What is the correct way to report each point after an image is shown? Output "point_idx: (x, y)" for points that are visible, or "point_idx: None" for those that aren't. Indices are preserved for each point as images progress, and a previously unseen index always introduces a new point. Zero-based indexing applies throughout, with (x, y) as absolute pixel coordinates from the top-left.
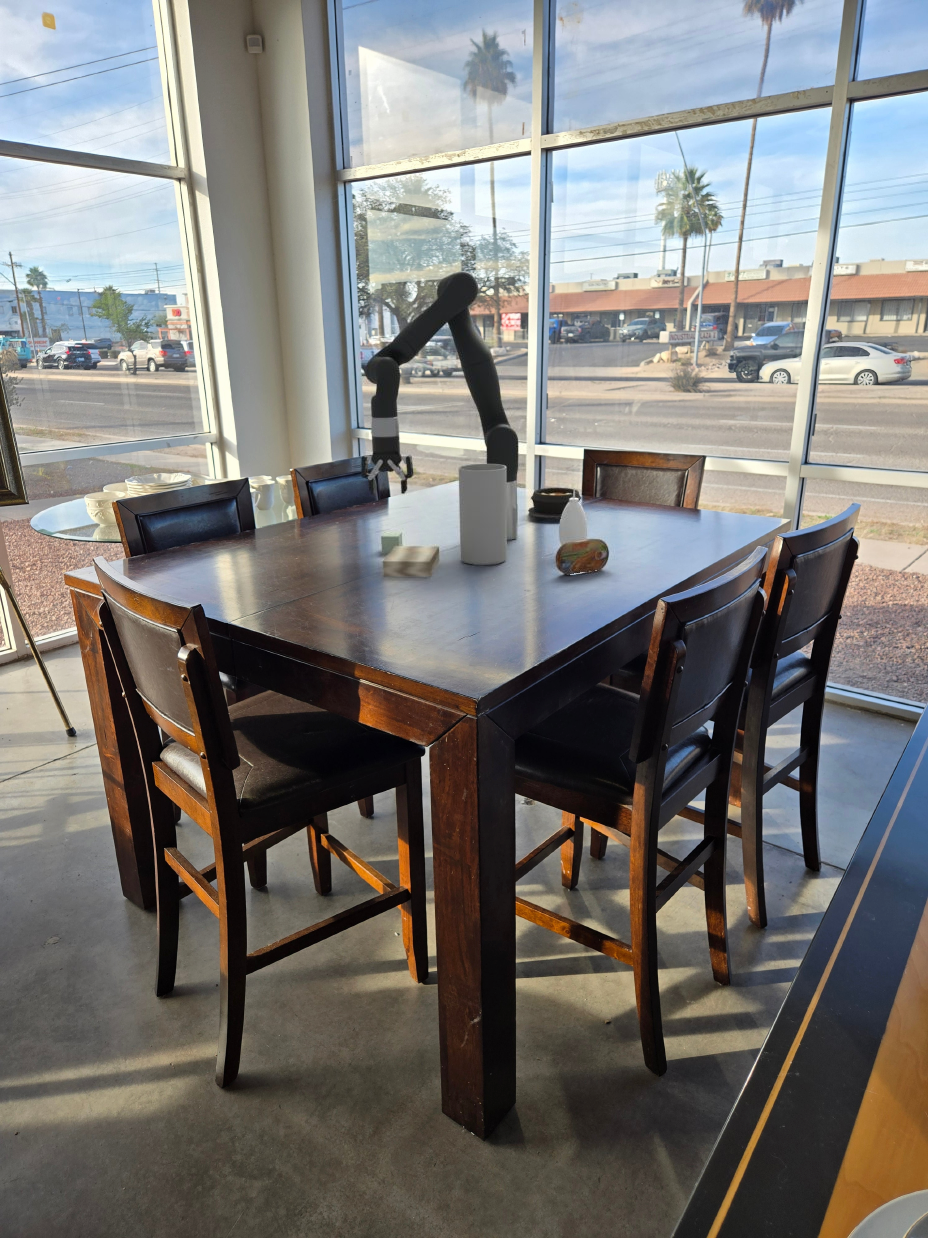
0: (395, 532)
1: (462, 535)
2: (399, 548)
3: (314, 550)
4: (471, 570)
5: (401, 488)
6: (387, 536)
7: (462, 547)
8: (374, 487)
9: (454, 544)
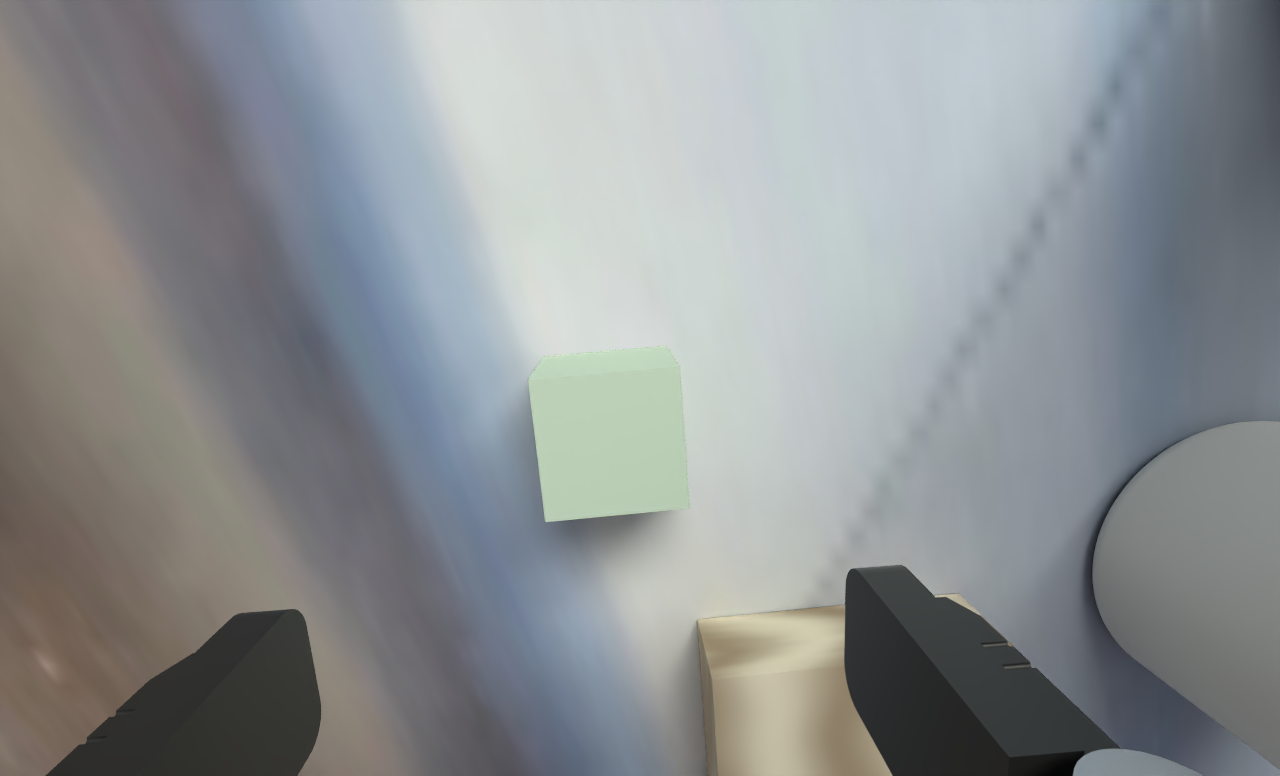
0: (625, 375)
1: (1269, 754)
2: (759, 736)
3: (41, 458)
4: (1145, 745)
5: (896, 766)
6: (599, 516)
7: (1180, 686)
8: (252, 752)
9: (1015, 163)
